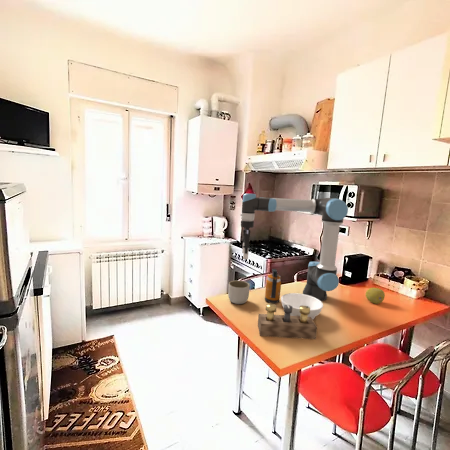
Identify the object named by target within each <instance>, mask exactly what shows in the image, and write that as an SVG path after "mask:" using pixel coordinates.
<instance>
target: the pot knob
mask: <svg viewBox="0 0 450 450" xmlns="http://www.w3.org/2000/svg"><path fill="white" fill-rule="evenodd" d="M283 312H284V314H283V315H284V322H290V314H291V313H292V306H290V305H284V308H283Z"/></svg>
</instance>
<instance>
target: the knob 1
mask: <svg viewBox="0 0 450 450" xmlns="http://www.w3.org/2000/svg"><path fill="white" fill-rule="evenodd" d="M265 311H266V312H267V313H266V314H267V321H273V320H274V315H275V313H276V312H277V305H276V303H270V302H268V303H266V305H265Z"/></svg>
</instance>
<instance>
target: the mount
mask: <svg viewBox="0 0 450 450" xmlns="http://www.w3.org/2000/svg"><path fill="white" fill-rule="evenodd" d="M257 329H258V332H259V333H258V334H259V336H260V337H271V338H273V337H274V338H275V337H276V338H290V339H302V338H303V339H305V340H317V334H318V332H317V331H318V327H317V325H316V323H315V321H314V319H313V320H312V318H311V317H307V324H306V323H300V316H290V322H284V314H283V315H282V314H274V320H273V321H267V313H258V319H257ZM303 339H302V340H303Z"/></svg>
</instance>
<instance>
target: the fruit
mask: <svg viewBox="0 0 450 450" xmlns="http://www.w3.org/2000/svg"><path fill="white" fill-rule="evenodd" d="M365 297H366V299H367V301H369V302H370V303H372V304H375V305H379V304H382V303H383V301H384V300H385V292H384V290H383V289H381V288H379V287H370V288H368V289H367V290H366V291H365Z"/></svg>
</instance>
